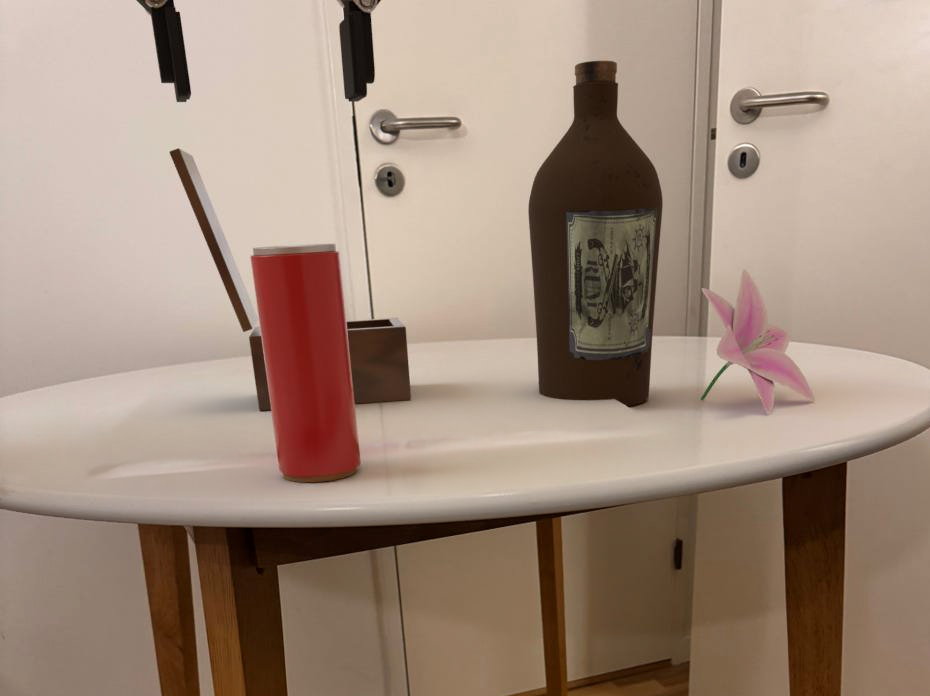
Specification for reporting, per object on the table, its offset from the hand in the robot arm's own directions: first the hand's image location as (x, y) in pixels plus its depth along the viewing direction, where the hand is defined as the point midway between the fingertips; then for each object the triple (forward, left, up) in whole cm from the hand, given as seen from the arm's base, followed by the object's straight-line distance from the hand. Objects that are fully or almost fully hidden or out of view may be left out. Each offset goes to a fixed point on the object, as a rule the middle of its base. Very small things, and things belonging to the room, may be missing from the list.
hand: (272, 99), depth 53 cm
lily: (+35, +11, -22) cm, 42 cm away
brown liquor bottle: (+24, +18, -22) cm, 37 cm away
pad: (0, 0, -22) cm, 22 cm away
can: (0, 0, -21) cm, 21 cm away
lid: (-6, +24, -7) cm, 26 cm away
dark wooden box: (+2, +24, -21) cm, 32 cm away
